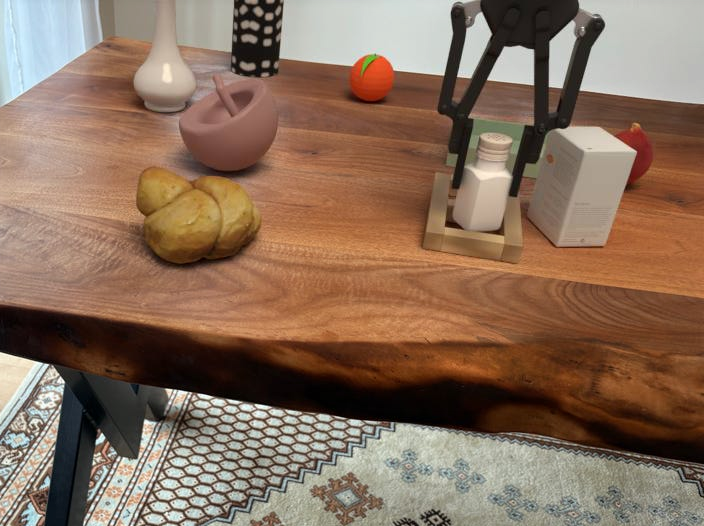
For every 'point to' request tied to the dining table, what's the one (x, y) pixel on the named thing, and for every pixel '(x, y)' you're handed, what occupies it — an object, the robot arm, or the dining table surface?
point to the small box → (580, 185)
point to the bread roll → (195, 215)
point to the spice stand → (469, 241)
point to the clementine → (371, 77)
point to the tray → (503, 128)
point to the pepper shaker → (485, 185)
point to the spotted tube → (256, 37)
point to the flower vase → (164, 66)
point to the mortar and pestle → (231, 125)
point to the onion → (641, 145)
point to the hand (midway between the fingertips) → (484, 187)
